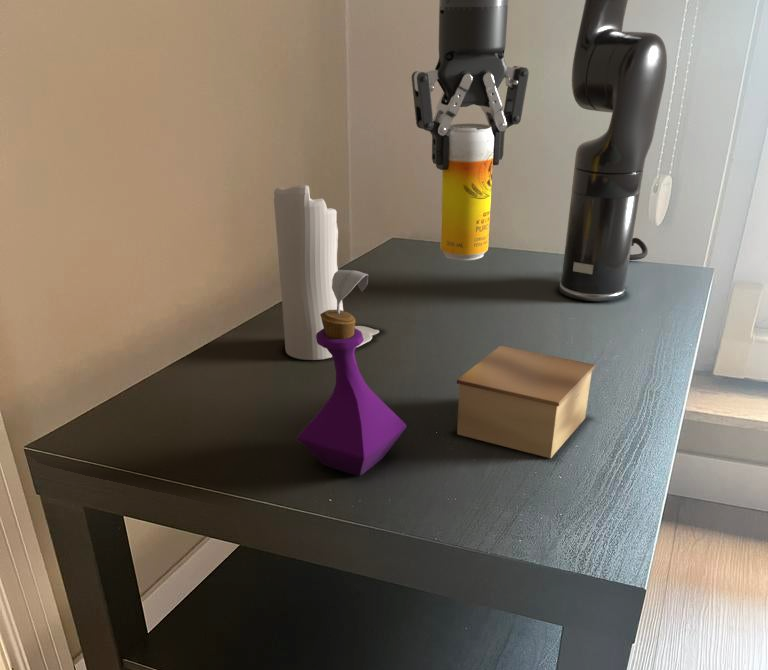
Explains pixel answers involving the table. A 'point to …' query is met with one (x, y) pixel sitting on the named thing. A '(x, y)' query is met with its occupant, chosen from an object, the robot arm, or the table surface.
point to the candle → (307, 269)
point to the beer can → (467, 192)
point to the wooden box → (523, 400)
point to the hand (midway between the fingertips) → (467, 166)
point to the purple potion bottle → (349, 396)
